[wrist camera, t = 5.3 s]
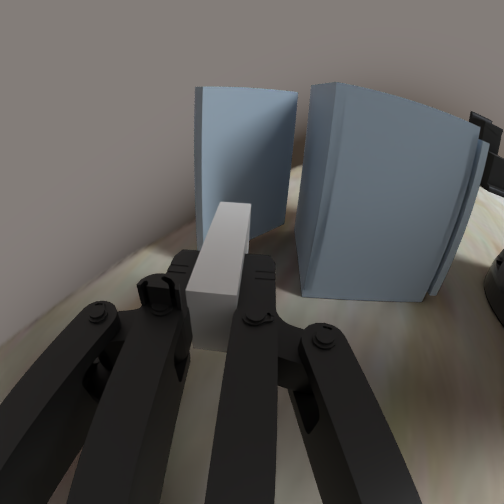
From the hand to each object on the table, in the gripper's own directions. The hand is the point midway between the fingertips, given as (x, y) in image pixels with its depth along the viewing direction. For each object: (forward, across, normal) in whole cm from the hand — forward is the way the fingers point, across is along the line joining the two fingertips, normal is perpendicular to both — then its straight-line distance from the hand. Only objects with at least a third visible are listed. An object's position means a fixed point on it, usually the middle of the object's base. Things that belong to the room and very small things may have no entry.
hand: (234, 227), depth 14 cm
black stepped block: (+62, +76, -7) cm, 98 cm away
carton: (+7, +10, -6) cm, 14 cm away
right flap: (+9, 0, -5) cm, 10 cm away
